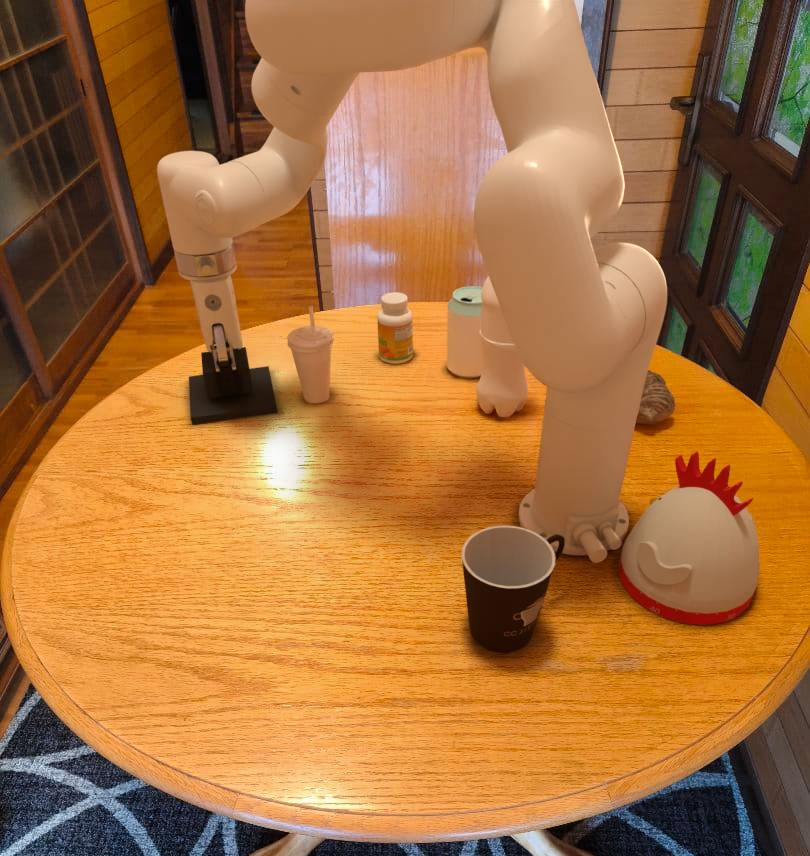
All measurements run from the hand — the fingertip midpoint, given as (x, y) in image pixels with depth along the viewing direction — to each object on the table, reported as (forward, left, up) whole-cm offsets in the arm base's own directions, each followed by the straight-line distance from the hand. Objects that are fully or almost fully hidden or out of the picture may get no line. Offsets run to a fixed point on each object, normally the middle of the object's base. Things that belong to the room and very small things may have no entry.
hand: (229, 380), depth 110 cm
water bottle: (-13, -37, -3) cm, 39 cm away
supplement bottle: (+6, -26, -3) cm, 27 cm away
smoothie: (-3, -12, -3) cm, 13 cm away
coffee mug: (-53, -25, -3) cm, 59 cm away
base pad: (0, 0, -3) cm, 3 cm away
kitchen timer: (-51, -45, -3) cm, 68 cm away
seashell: (-20, -54, -3) cm, 58 cm away
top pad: (0, 0, -1) cm, 1 cm away
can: (-1, -36, -3) cm, 36 cm away
